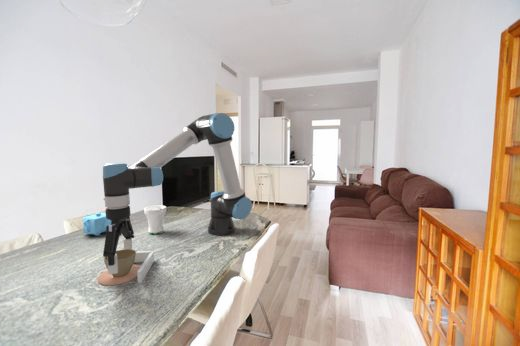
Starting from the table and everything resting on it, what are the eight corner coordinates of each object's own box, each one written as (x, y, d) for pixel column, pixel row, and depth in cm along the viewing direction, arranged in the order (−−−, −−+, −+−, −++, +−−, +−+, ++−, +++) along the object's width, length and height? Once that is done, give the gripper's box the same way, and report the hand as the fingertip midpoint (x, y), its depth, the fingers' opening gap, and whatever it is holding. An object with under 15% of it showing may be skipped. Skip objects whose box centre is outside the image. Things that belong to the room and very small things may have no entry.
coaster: (147, 263, 92) (147, 262, 92) (134, 283, 79) (134, 282, 79) (108, 266, 90) (108, 265, 90) (89, 287, 76) (89, 286, 76)
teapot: (95, 239, 117) (94, 218, 116) (72, 235, 124) (71, 214, 123) (123, 230, 132) (122, 210, 131) (101, 226, 138) (100, 208, 137)
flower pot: (142, 269, 87) (142, 251, 87) (118, 283, 78) (117, 263, 77) (123, 264, 91) (122, 247, 90) (97, 277, 81) (96, 258, 81)
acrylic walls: (154, 259, 96) (154, 250, 96) (141, 282, 79) (140, 271, 79) (112, 262, 93) (111, 253, 93) (88, 287, 76) (88, 275, 76)
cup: (167, 228, 136) (166, 204, 134) (166, 234, 125) (165, 209, 124) (146, 230, 132) (145, 206, 131) (143, 237, 122) (142, 210, 120)
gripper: (120, 199, 94) (124, 249, 96) (86, 217, 69) (92, 283, 71) (140, 198, 95) (143, 248, 97) (113, 215, 71) (118, 281, 73)
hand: (121, 263), depth 84 cm, fingers open, 13 cm apart
